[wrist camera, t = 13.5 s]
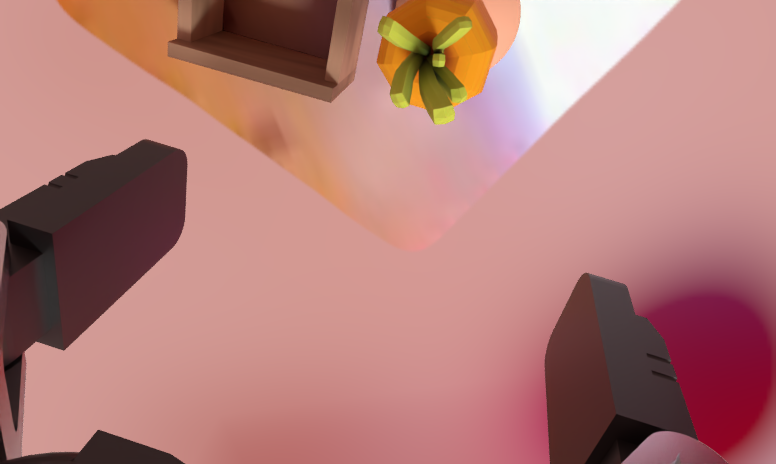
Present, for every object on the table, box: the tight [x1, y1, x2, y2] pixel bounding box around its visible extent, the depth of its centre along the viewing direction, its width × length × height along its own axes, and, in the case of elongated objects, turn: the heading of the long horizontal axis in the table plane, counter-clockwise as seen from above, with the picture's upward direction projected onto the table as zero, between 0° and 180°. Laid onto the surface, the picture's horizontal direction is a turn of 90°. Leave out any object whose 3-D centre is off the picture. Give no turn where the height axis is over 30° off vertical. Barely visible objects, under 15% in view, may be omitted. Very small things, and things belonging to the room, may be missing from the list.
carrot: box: [377, 0, 498, 124], centre depth 25 cm, size 5×5×15 cm
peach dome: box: [396, 0, 520, 68], centre depth 32 cm, size 7×7×1 cm
